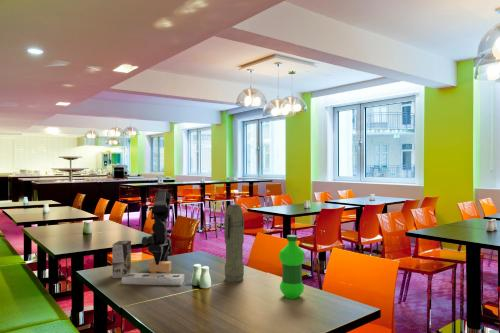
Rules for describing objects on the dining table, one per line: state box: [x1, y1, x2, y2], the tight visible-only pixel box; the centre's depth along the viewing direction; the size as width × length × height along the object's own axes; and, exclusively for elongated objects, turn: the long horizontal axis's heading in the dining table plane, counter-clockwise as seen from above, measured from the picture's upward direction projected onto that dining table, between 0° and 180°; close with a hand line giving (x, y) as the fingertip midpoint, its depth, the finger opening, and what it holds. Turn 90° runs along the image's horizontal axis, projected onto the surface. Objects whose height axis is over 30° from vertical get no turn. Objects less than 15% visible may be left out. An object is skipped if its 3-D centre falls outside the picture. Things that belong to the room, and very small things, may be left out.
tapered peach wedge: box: [148, 260, 172, 274], centre depth 192 cm, size 10×4×6 cm, turn 86°
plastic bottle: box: [278, 234, 306, 300], centre depth 163 cm, size 10×10×25 cm
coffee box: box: [111, 240, 132, 279], centre depth 192 cm, size 9×6×16 cm
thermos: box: [223, 204, 245, 284], centre depth 185 cm, size 9×12×35 cm
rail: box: [121, 272, 185, 286], centre depth 182 cm, size 7×27×3 cm, turn 86°
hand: (160, 262), depth 192 cm, fingers open, 9 cm apart
